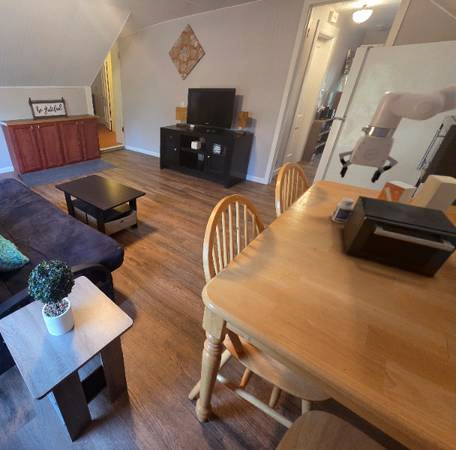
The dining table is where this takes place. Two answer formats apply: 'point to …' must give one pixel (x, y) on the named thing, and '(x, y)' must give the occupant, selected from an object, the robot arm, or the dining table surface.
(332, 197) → the dining table surface
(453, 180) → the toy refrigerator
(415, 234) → the oven door
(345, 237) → the oven
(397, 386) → the dining table surface
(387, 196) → the small box
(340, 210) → the pill bottle
